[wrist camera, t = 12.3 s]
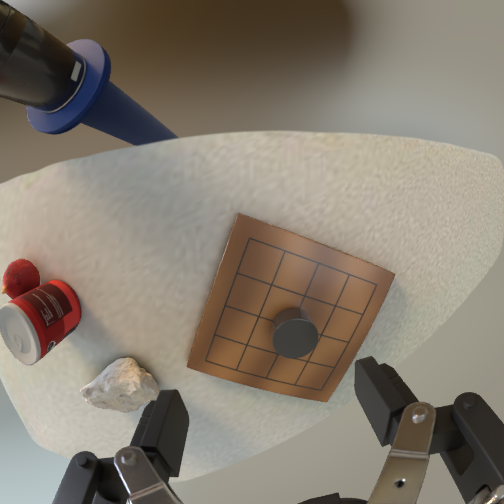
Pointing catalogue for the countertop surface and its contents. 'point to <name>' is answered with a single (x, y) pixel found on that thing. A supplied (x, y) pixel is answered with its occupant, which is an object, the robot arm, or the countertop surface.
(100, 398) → the stone
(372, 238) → the countertop surface
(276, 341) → the black stone
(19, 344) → the canned food
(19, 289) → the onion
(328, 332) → the grid board
